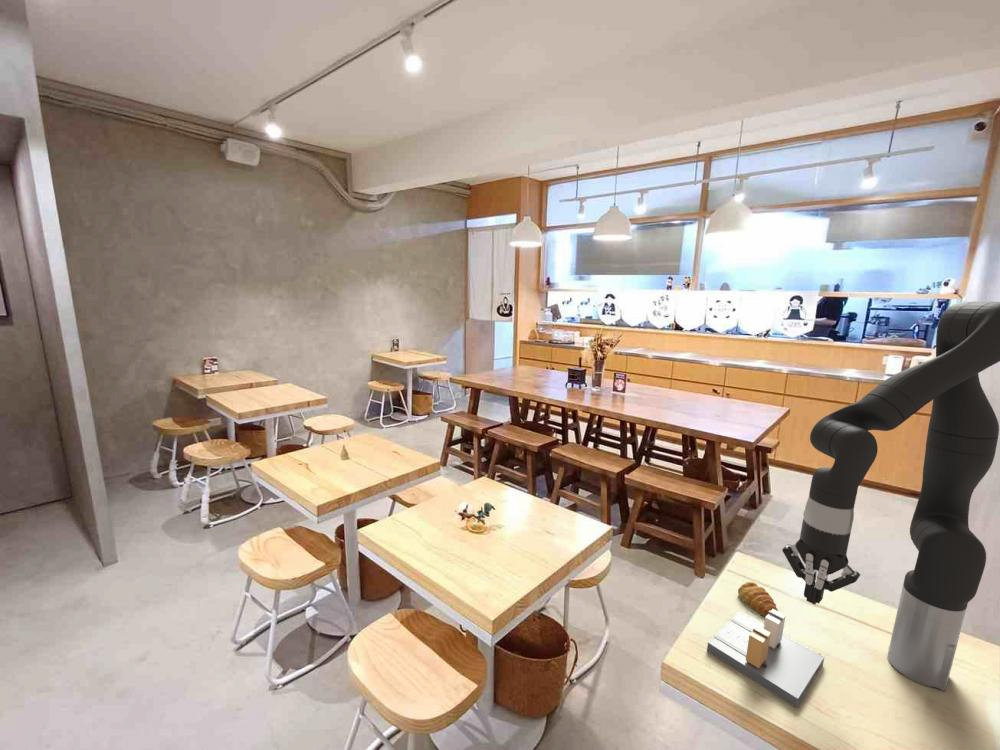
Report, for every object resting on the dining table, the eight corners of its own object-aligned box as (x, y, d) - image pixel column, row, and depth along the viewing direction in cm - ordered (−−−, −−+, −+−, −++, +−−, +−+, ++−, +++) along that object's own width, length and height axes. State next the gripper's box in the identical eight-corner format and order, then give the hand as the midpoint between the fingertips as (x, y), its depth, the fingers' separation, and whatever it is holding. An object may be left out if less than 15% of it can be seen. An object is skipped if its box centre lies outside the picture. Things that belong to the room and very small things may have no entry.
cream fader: (781, 639, 97) (786, 613, 95) (774, 648, 94) (778, 622, 93) (768, 632, 99) (772, 606, 97) (761, 641, 96) (765, 615, 95)
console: (822, 665, 93) (824, 656, 93) (796, 707, 83) (798, 698, 83) (738, 618, 106) (739, 610, 106) (706, 650, 96) (708, 641, 96)
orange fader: (767, 658, 92) (771, 631, 90) (759, 668, 89) (763, 640, 88) (753, 650, 94) (757, 623, 92) (745, 660, 91) (749, 632, 90)
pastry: (785, 618, 107) (787, 604, 106) (760, 621, 106) (762, 607, 105) (756, 592, 116) (758, 579, 115) (733, 594, 115) (735, 581, 114)
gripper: (875, 531, 83) (857, 612, 87) (795, 503, 93) (782, 577, 97) (864, 544, 79) (846, 629, 82) (781, 514, 89) (768, 591, 92)
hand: (811, 601), depth 89 cm, fingers closed
